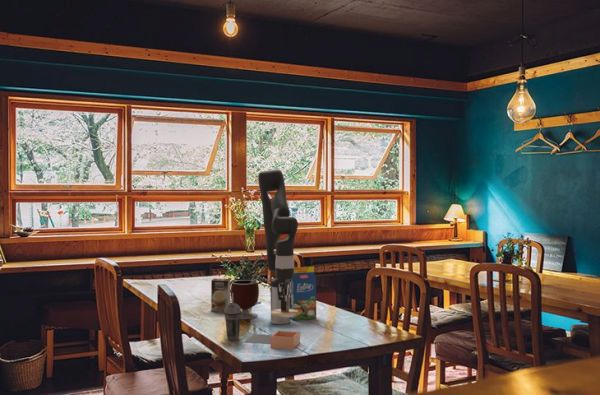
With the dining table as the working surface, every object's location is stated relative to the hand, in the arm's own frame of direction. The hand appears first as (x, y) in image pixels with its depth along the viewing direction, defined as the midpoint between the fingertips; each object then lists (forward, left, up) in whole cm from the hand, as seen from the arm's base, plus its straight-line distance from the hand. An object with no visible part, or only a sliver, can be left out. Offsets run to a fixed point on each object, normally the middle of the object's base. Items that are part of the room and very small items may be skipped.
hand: (284, 309), depth 239 cm
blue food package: (-51, -6, -15) cm, 54 cm away
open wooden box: (0, 0, -15) cm, 15 cm away
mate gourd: (-48, -34, -15) cm, 61 cm away
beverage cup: (-4, -24, -15) cm, 29 cm away
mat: (-7, -11, -15) cm, 20 cm away
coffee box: (-59, -52, -15) cm, 80 cm away
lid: (0, 0, -2) cm, 2 cm away
